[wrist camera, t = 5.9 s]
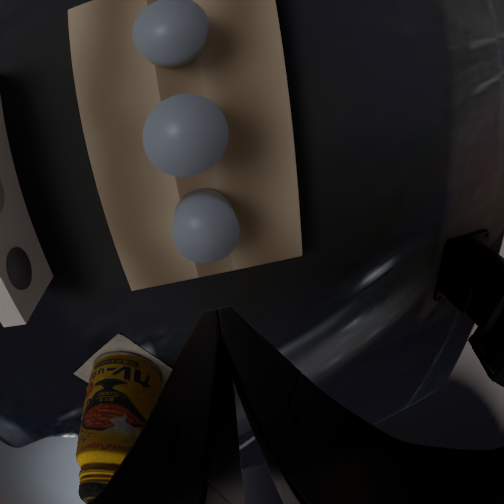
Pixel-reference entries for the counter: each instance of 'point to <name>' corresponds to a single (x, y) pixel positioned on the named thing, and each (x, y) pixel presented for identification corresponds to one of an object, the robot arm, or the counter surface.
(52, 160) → the counter surface
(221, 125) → the button mid
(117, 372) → the condiment
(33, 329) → the counter surface
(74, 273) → the counter surface
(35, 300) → the white flat bar
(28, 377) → the counter surface
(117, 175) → the board
